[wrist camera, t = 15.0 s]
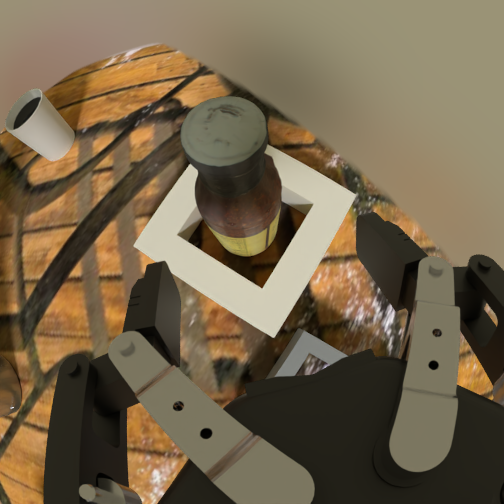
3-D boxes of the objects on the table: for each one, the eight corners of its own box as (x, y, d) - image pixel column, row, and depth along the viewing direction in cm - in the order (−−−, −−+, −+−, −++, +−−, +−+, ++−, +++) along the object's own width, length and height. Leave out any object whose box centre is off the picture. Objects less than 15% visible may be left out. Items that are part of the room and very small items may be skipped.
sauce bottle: (250, 192, 33) (243, 56, 13) (288, 234, 32) (330, 126, 12) (203, 229, 32) (137, 121, 13) (240, 273, 31) (213, 213, 12)
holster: (237, 419, 28) (234, 433, 24) (298, 327, 30) (304, 330, 26) (327, 462, 27) (334, 478, 23) (386, 377, 29) (401, 385, 25)
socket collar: (147, 253, 32) (133, 245, 28) (226, 141, 34) (222, 122, 30) (271, 334, 30) (273, 338, 26) (345, 207, 32) (356, 195, 28)
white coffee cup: (83, 124, 35) (50, 85, 26) (66, 164, 34) (26, 130, 24) (53, 125, 36) (20, 91, 26) (37, 163, 35) (-2, 133, 25)
